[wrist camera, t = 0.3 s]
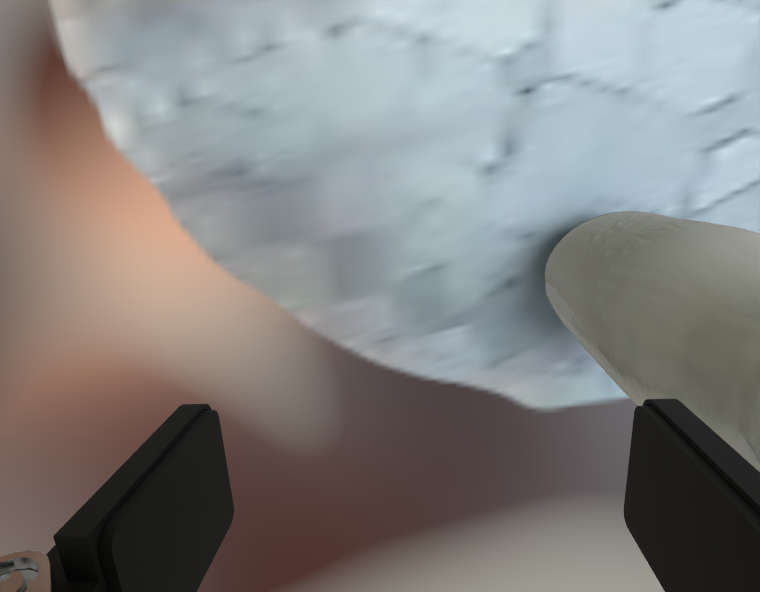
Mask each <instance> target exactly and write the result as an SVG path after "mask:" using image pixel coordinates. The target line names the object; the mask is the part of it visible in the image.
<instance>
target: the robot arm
mask: <svg viewBox="0 0 760 592" xmlns="http://www.w3.org/2000/svg"><path fill="white" fill-rule="evenodd" d="M233 514H234V505H233V500H232V493H231V488H230V481H229V476H228V470H227V464H226V457H225V451H224V445H223V440H222V434H221V428H220V421H219V416H218V413H217V411H215V410H211V408H210V406H209V405H208V404H184V405H181V406H180V407H179V408H178V409H177V410H176V411H175V412H174V413H173V414H172V415H171V416H170V417H169V418H168V419H167V420H166V421H165V422H164V423H163V424H162V425H161V426H160V427H159V428H158V429H157V430H156V431H155V432H154V433H153V434H152V435H151V436H150V437H149V438H148V439H147V440H146V442H144V443H143V445H142V446H141V447H140V448H139V449H138V450H137V451H136V452H135V453H134V454H133V455H132V456H131V457H130V458H129V459H128V460H127V461H126V462H125V463H124V464H123V465H122V466H121V467H120V468H119V469H118V470H117V471H116V472H115V473H114V474H113V475H112V476H111V477H110V479H109V480H108V481H107V482H106V483H105V484H104V485H103V486H102V487H101V488H100V489H99V490H98V491H97V492H96V493H95V494H94V495H93V496H92V497H91V498H90V499H89V500H88V501H87V502H86V503H85V504H84V505H83V506H82V507H81V508H80V509H79V510H78V511H77V512H76V513H75V515H74V516H73V517H71V519H70V520H69V521H68V522H67V523H66V524H65V525H64V526H63V527H62V528H61V529H60V530H59V531H58V532H57V533H56V534H55V535H54V540H55V543H56V545H55V546H54V547H53V548H52V549H51V550H50V551H49V552H48V553H47V554H46V555H45V554H44V553H42V552H40V551H32V550H27V551H20V552H14V553H11V554H8V555H5V556H2V557H0V592H196V591H197V590H198V588H199V586H200V584H201V582H202V580H203V578H204V576H205V574H206V572H207V570H208V568H209V566H210V564H211V562H212V560H213V558H214V556H215V554H216V552H217V550H218V549H219V547H220V545H221V542H222V541H223V539H224V537H225V535H226V533H227V531H228V529H229V527H230V525H231V523H232V519H233ZM624 517H625V522H626V525H627V527H628V529H629V531H630V533H631V534H632V536H633V538H634V539H635V541H636V543H637V545H638V546H639V548H640V550H641V552H642V553H643V555H644V557H645V558H646V560H647V562H648V563H649V565H650V567H651V569H652V570H653V572H654V573H655V575H656V577H657V578H658V580H659V582H660V584H661V586H662V587H663V589H664V591H665V592H760V472H759V471H758V470H757V469H756V468H755V467H754V466H752V465H751V464H750V463H749V462H748V461H747V460H746V459H745V458H743V457H742V456H741V455H740V454H739V453H738V452H737V451H736V450H734V449H733V448H732V447H731V446H730V445H729V444H728V443H727V442H725V441H724V440H723V439H722V438H721V437H720V436H719V435H718V434H716V433H715V432H714V431H713V430H712V429H711V428H710V427H709V426H707V425H706V424H705V423H704V422H703V421H702V420H701V419H700V418H698V417H697V416H696V415H695V414H694V413H693V412H692V411H691V410H689V409H688V408H687V407H686V406H685V405H684V404H683V403H682V402H680V401H679V400H677V399H646V400H645V401H644V403H643V405H642V406H637V407H636V409H635V412H634V420H633V431H632V439H631V448H630V457H629V466H628V475H627V485H626V493H625V503H624Z"/></svg>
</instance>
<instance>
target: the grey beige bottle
mask: <svg viewBox="0 0 760 592" xmlns="http://www.w3.org/2000/svg"><path fill="white" fill-rule="evenodd" d="M545 288H546V295H547V297H548V299H549V301H550V303H551V305H552V307H553V308H554V310H555V312H556V313H557V315H558V316H559V318H560V319H561V321H562V322H563V323H564V325H565V326H566V327H567V329H568V330H569V331H570V332H571V333H572V334H573V336H574V337H575V338H576V339H577V340H578V341H579V342H580V343H581V345H582V346H583V347H584V348H585V349H586V350H587V351H588V353H589V354H590V355H591V356H592V357H593V358H594V359H595V360H596V362H597V363H598V364H599V365H600V366H601V367H602V368H603V369H604V370H605V372H606V373H607V374H608V375H609V376H610V377H611V378H612V379H613V380H614V381H615V383H616V384H617V385H618V386H619V387H620V388H621V389H622V390H623V391H624V392H625V393H626V394H627V395H628V396H629V397H630V398H631V399H632V400H633V401H634V402H635V403H636V404H637V405H638V406H642V405H643V403H644V401H645V400H646V399H677V400H679V401H680V402H682V403H683V404H684V405H685V406H686V407H687V408H688V409H689V410H691V411H692V412H693V413H694V414H695V415H696V416H697V417H698V418H700V419H701V420H702V421H703V422H704V423H705V424H706V425H707V426H709V427H710V428H711V429H712V430H713V431H714V432H715V433H716V434H718V435H719V436H720V437H721V438H722V439H723V440H724V441H725V442H727V443H728V444H729V445H730V446H731V447H732V448H733V449H734V450H736V451H737V452H738V453H739V454H740V455H741V456H742V457H743V458H745V459H746V460H747V461H748V462H749V463H750V464H751V465H752V466H754V467H755V468H756V469H757V470H758V471H759V472H760V233H757V232H753V231H749V230H745V229H741V228H736V227H731V226H725V225H719V224H713V223H708V222H701V221H693V220H685V219H678V218H673V217H668V216H664V215H659V214H653V213H647V212H637V211H624V212H615V213H610V214H605V215H602V216H598V217H596V218H593V219H590V220H588V221H586V222H584V223H582V224H580V225H578V226H577V227H575V228H574V229H572V230H571V231H570V232H569V233H567V234H566V235H565V236H564V237H563V238H562V239H561V240H560V242H559V243H558V244H557V245H556V247H555V248H554V249H553V251H552V253H551V254H550V256H549V258H548V261H547V264H546V268H545Z"/></svg>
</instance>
